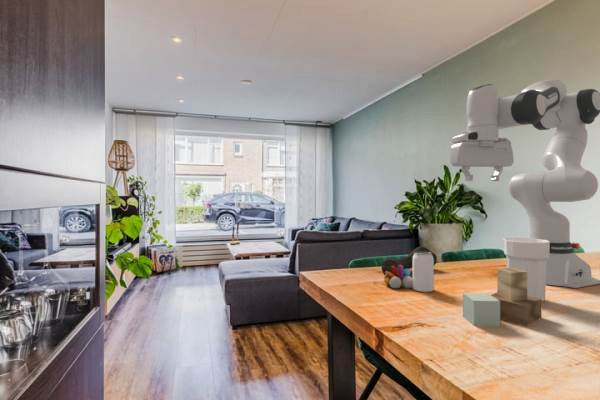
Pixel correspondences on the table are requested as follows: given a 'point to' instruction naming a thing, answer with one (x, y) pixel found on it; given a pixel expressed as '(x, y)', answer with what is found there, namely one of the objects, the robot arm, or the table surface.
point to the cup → (529, 262)
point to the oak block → (512, 284)
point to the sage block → (481, 309)
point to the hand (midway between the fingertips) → (482, 180)
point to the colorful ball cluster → (398, 277)
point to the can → (423, 272)
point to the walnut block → (520, 310)
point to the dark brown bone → (404, 260)
